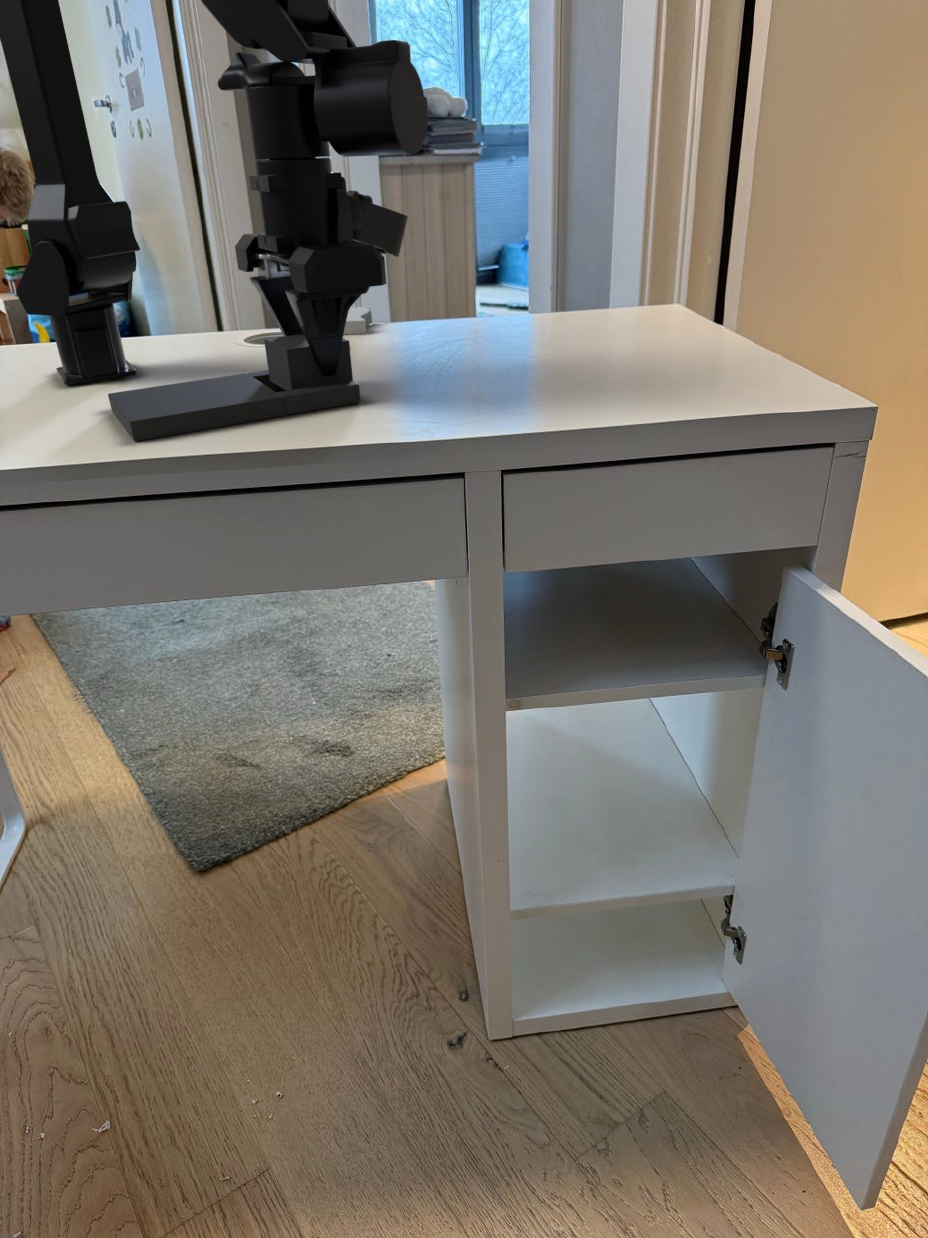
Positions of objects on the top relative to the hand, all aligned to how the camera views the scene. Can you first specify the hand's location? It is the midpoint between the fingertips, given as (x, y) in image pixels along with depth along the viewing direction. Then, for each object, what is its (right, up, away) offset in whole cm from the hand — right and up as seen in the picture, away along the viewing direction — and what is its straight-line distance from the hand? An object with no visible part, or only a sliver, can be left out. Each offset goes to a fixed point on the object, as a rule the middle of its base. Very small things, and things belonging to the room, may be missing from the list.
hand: (317, 369), depth 72 cm
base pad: (-6, -4, -2) cm, 8 cm away
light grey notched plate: (+2, +14, +28) cm, 31 cm away
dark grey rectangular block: (-1, -1, 0) cm, 1 cm away
